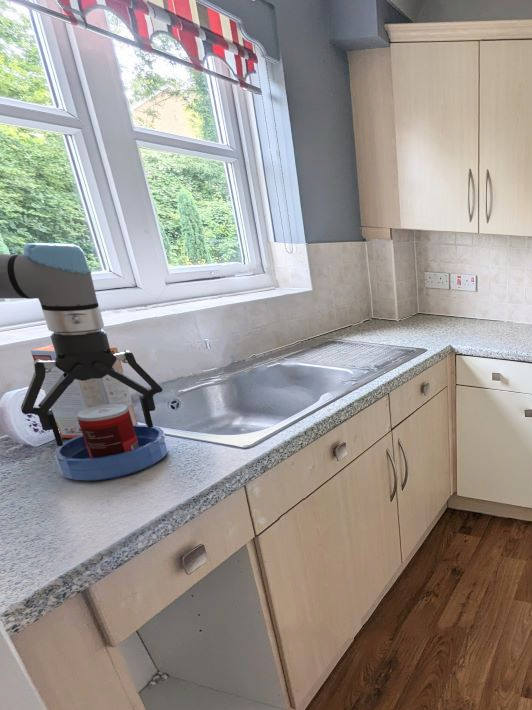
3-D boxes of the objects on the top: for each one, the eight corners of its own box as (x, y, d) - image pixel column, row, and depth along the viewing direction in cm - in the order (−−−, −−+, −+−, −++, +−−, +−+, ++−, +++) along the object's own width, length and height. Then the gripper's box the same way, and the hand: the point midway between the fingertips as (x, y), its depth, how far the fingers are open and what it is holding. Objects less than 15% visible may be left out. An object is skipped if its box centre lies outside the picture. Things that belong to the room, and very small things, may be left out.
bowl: (54, 492, 83) (46, 468, 81) (69, 456, 96) (62, 435, 94) (168, 469, 93) (162, 447, 91) (168, 439, 105) (163, 419, 103)
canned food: (131, 447, 99) (118, 400, 95) (148, 457, 95) (135, 409, 91) (85, 461, 93) (69, 411, 89) (101, 472, 89) (85, 421, 85)
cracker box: (142, 431, 108) (118, 346, 101) (119, 442, 102) (93, 352, 95) (84, 427, 108) (56, 342, 101) (59, 438, 103) (27, 349, 95)
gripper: (-26, 343, 73) (17, 459, 80) (166, 327, 91) (186, 424, 98) (-26, 334, 78) (15, 445, 85) (156, 321, 96) (177, 414, 103)
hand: (107, 434), depth 92 cm, fingers open, 13 cm apart
